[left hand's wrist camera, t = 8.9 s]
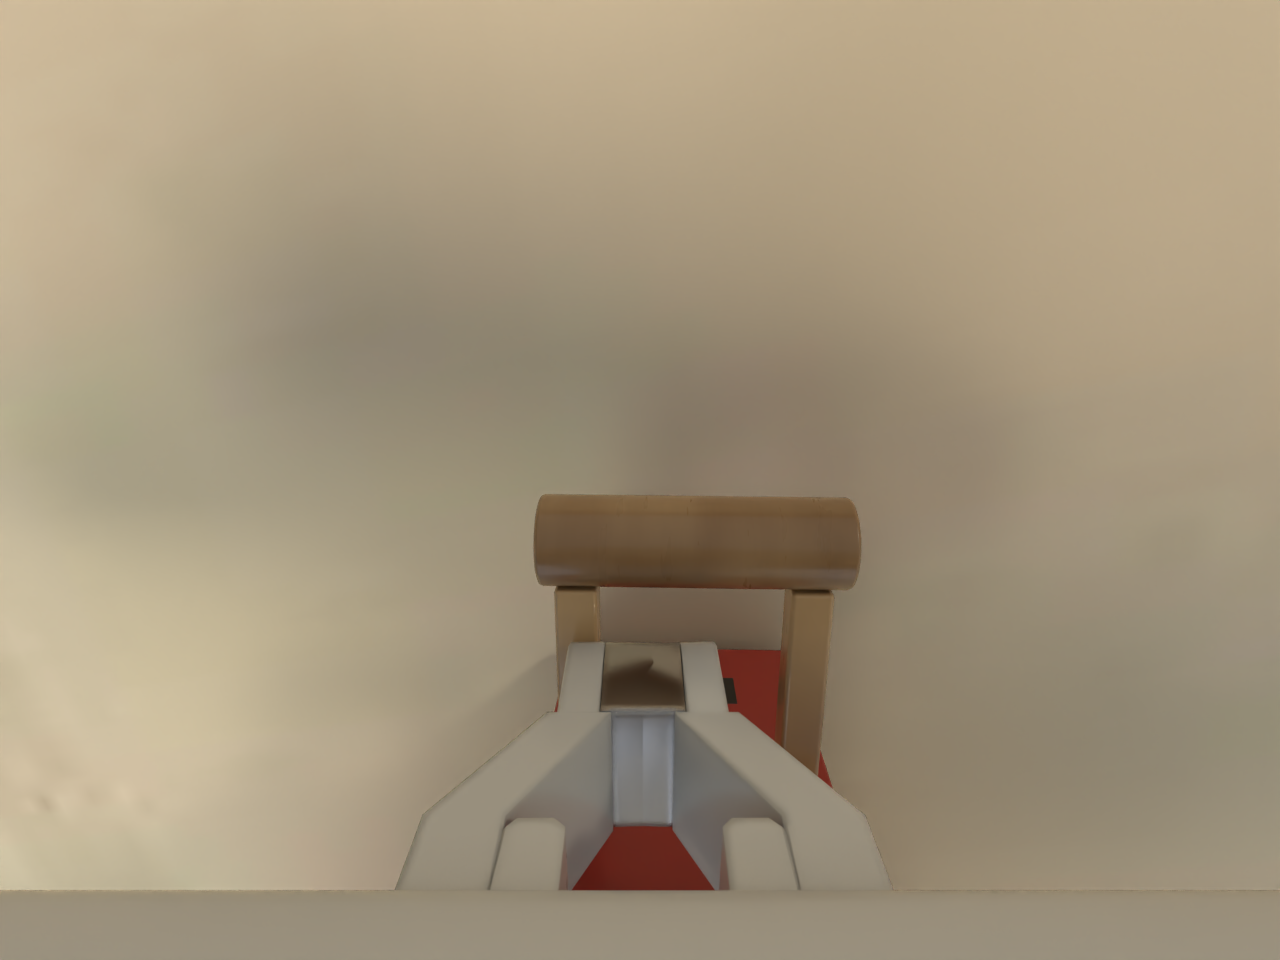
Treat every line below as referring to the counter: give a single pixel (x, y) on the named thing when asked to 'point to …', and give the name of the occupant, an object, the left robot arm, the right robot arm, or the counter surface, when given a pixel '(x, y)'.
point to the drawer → (705, 558)
